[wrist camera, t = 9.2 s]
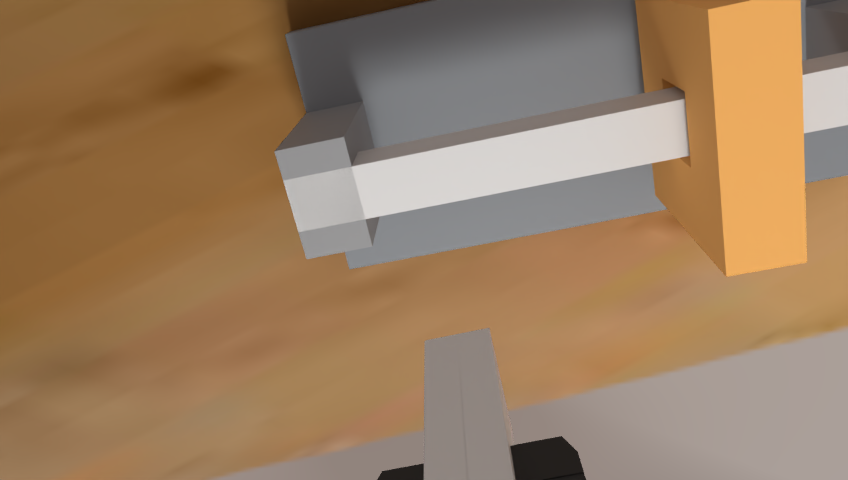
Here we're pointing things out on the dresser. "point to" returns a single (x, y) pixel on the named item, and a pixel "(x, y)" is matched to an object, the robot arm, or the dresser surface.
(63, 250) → the dresser surface
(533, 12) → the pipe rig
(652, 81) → the slotted orange slab
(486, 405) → the robot arm
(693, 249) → the dresser surface
